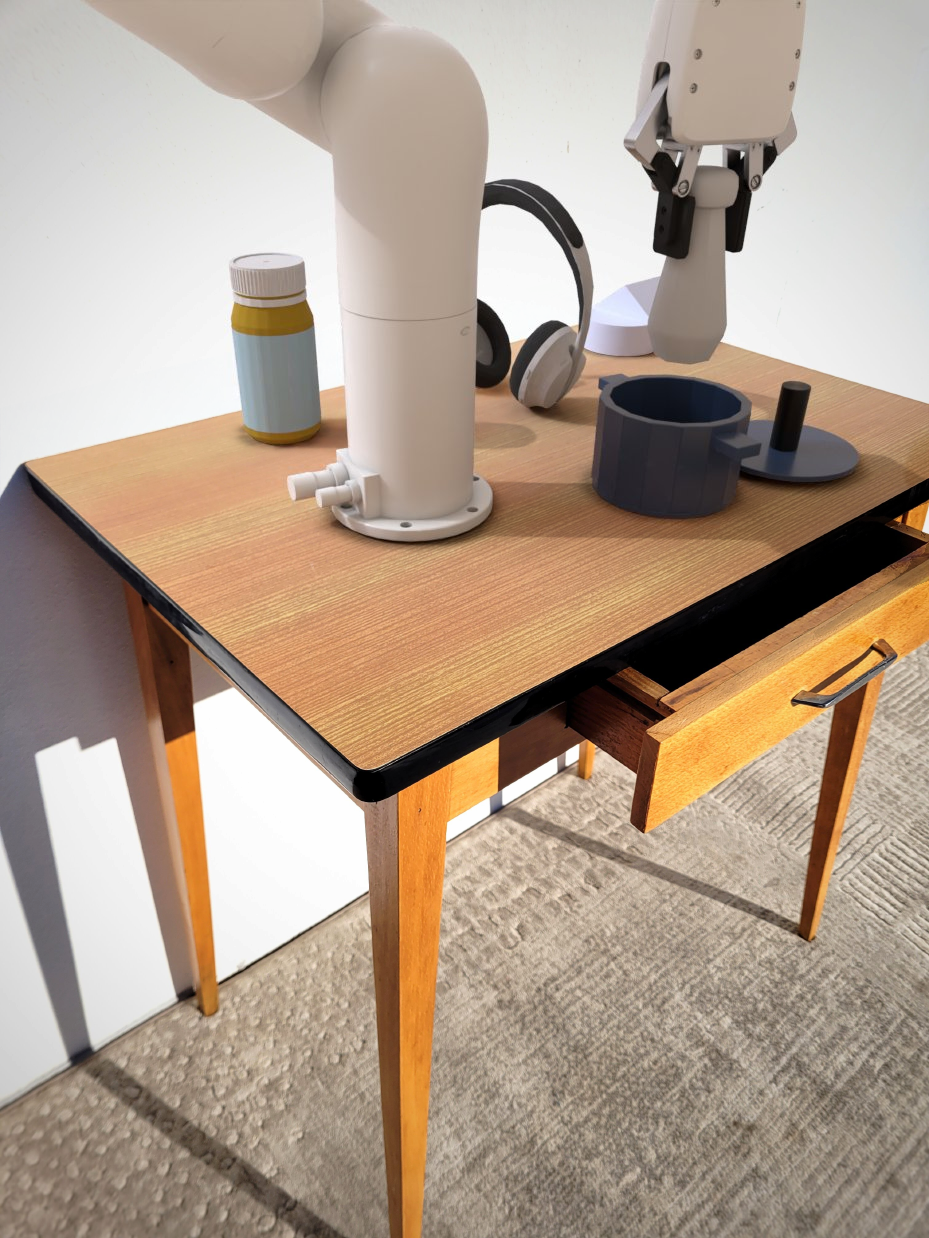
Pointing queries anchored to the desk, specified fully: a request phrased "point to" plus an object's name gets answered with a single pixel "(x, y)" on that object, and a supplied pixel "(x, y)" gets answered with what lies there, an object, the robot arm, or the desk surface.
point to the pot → (670, 444)
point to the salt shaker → (696, 277)
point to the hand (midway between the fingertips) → (697, 249)
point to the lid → (797, 443)
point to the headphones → (553, 346)
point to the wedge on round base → (623, 321)
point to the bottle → (275, 348)
